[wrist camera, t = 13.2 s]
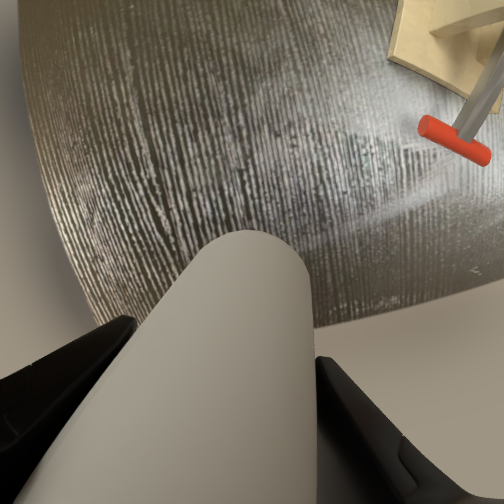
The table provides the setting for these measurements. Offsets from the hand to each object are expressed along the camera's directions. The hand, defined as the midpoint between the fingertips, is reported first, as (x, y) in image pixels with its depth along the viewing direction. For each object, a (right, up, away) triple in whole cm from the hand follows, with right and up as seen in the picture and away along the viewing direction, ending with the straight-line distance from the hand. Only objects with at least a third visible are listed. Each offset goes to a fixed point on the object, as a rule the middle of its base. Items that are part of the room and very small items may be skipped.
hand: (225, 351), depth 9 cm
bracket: (+15, +18, +6) cm, 24 cm away
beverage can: (+1, +2, +5) cm, 5 cm away
